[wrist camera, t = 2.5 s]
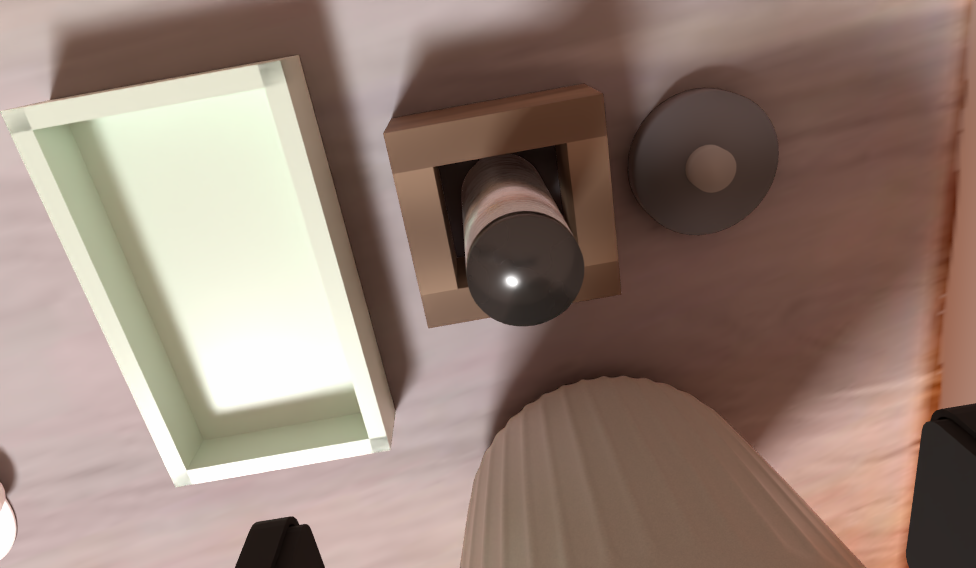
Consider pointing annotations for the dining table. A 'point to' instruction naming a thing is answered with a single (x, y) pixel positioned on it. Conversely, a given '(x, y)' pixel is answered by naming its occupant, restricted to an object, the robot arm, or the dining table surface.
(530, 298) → the dark capped bottle
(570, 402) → the canister
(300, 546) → the robot arm
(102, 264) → the tray
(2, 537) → the teacup and saucer
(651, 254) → the dining table surface
